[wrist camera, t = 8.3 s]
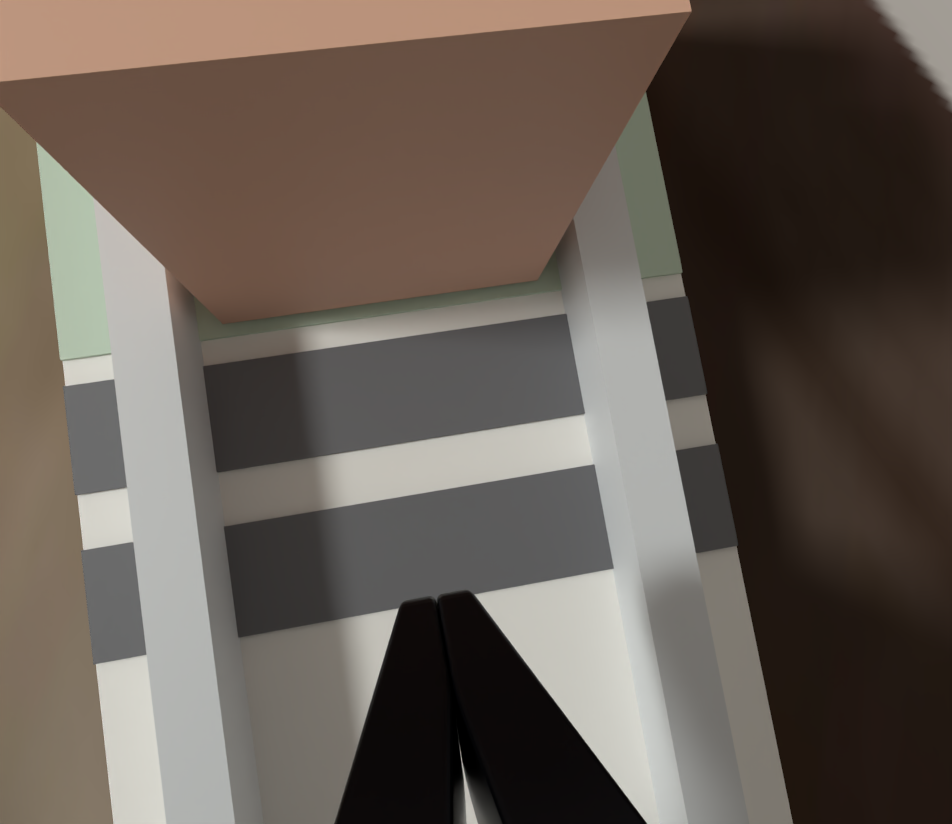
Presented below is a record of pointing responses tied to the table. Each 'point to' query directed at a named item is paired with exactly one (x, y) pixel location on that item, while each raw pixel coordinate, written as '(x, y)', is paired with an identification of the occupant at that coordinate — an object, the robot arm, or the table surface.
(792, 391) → the table surface
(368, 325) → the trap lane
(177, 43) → the slider block
